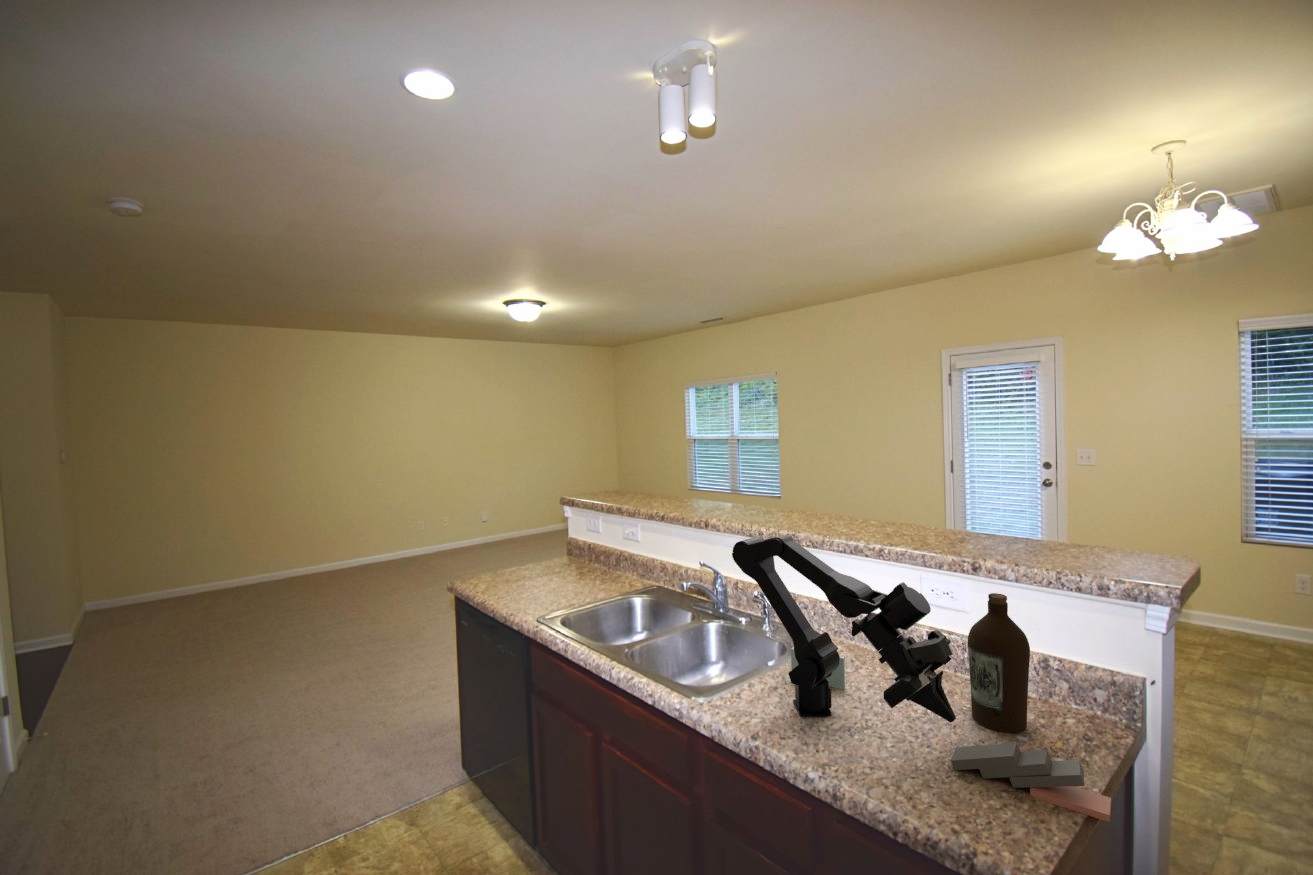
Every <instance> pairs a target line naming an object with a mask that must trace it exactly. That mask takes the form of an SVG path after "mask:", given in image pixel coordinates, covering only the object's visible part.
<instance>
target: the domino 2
mask: <svg viewBox="0 0 1313 875" xmlns="http://www.w3.org/2000/svg"><path fill="white" fill-rule="evenodd" d="M1051 761H1052V758H1051V756H1050V754H1049V752H1048V749H1046V748H1045V749H1036V750H1035V749H1034V750H1026V751H1024V750H1023V751H1021V754H1020V758H1019V763H1018V766H1013V767H998V768H983V769H978V770H979V772H980V774H981V777H982V779H984V780H986V779H996V778H997V779H999V778H1009V777H1016V776H1032V775H1047V774H1050V767H1051Z"/></svg>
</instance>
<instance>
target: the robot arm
mask: <svg viewBox="0 0 1313 875" xmlns="http://www.w3.org/2000/svg"><path fill="white" fill-rule="evenodd" d="M775 556H776V557H778V558H779V559H781V560H782V561H784V563H786V564H788V565H789V566H790V567H791V568H793V569H794V570H795V571H797V572H798V573H799V574H801V575H802V576H803V577H805V578H806V579H807V580H809V581H810V582H811V583H813V584H814V585H815V586H816V587H817V588H819V589H820V590H821V591H822V592H823V593H824V595H825V596H826V599H827V600H828V602H829V604H831V606H832V607H833V608H834V609H836V610H837V612H838V613H839V614H840V615H842V616H843V617H845V618H848V619H852V618H856V619H853V620H852V621H851V625H852V626H851V627H852V628H851V633H850V635H851V636H852V637H855V636H857V635H859V634H860V633H862V634H863V635H864V636H865V638H866V639H867V641H869V643H870V644H871V646H872V647H873V648H874V649H875V650H876V652H877V653H878V654H879V655H880V657H879V658H878V659H877V660H878V661H879V662H880V664H881V665H883V664H885V663H886V664H887V665H888V667H889V668H890V669H891V670H892V671H893V673H894V674H895V675H896V677H895V678H894V679H893V680H894V681H895V682H893V683H892V684H891V685H890V686H888V687H887V688H885V690H883V701H885V702H886V704H887V706H889V708H890V709H893V708H895V707H896V706H897V705H899V704H901V703H902V702H903V701H905V700H906V701H907V702H909V701H911V702H913V703H915V704H917V705H919V706H921V707H922V708H924V709H927V710H928V711H930V712H932V713H933V714H935V715H937V716H938V717H941V718H942V719H944V720H945V721H947V722H949V723H952V722H954V721H955V720H956V719H957V717H956V714H955V712H954V710H953V707H952V706H951V704H950V702H949V700H948V697H947V695H946V693H945V691H944V688H943V685H942V682H943V675H944V671H943V670H941V671H940V672H939V673H936V672H935V671H936V670H938V669H939V668H941V667H942V666H945V665H946V664H948V663H949V662H950V661H951V660H952V658H951V657H950V656H952V655H953V652H952V650H951V648H950V646H949V645H951V639H949V638H947V636H946V635H945V634H943V633H942V632H941V630H939V629H935V630H932V631H930V632H928V633H927V638H926V639H924V640H923V639H922V640H921V641H918V642H917V640H915V638H914V637H913V636H911V635H908V637H907V638H906V636H905V635H904V634H903V633H902V631H901V630H903V631H907V630H909V629H910V628H911V627H912V626H914V625H916V624H917V623H918V622H919V621H921V620H922V619H923V618H925V617H926V616H928V615H929V614H930V613H931V610H932V609H931V606H930V604H929V602H928V600H927V599H926V597H925V596H924V595H923V594H922V593H921V592H919V591H918V590H916V589H915V588H913V587H910V586H908V585H907V584H906V583H905V582H904V581H902V582H901V583H898V584H897V585H896V586H895V587H894V588H893V590H892V591H891V592H889V593H888V594H887V593H884V592H880V591H878V590H875V589H872V587H870V585H869V584H867V583H866V582H863V581H861V580H859V579H858V578H855V577H853V576H850V575H847V574H843V573H841V572H839V571H836V570H835V569H834V568H832V567H831V566H829V565H828V564H827V563H826V562H824V561H823V560H821V559H820V558H819V557H818V556H816V555H814V554H813V553H811V552H810V551H809V550H807V549H806V548H804V547H803V546H802V545H801V544H799V543H798V542H797V541H795V540H794V538H793V537H792V536H790V535H788V534H783V535H778V536H775V537H770V538H767V539H764V538H763V537H759V536H755V537H751V538H748V539H744V540H740V541H738V542H736V543H735V544H734V545H733V547H732V553H731V557H732V559H733V562H734V563H735V564H736V565H737V566H738V568H739V569H740V570H741V572H742V573H744V574H745V575H747V576H748V577H749V578H750V579H752V580H754V581H755V582H756V583H757V585H758V586H759V588H760V590H761V592H762V593H763V594H764V596H765V598H766V599H767V601H768V603H769V605H770V606H771V608H772V609H773V611H774V612H775V615H777V617H778V619H779V621H780V622H781V624H782V626H783V627H784V629H785V630H786V632H787V633H788V636H789V637H790V639H791V641H792V643H793V644H792V645H793V646H794V653H795V658H796V660H797V662H798V664H799V665H798V666H796V667H795V668H794V669H793V670H792V669H791V670H790V671H789V672H788V678H789V679H790V683H791V684H793V685H794V695H795V696H794V699H793V700H792V702H793V705H794V706H795V709H796V711H797V712H798V714H799V716H800V717H823V716H824V717H825V716H826V717H828V716H832V714H833V712H832V710H831V709H832V688H831V686H829V684H828V681H827V679H826V678H828V677H830V676H831V675H832V672H833V671H834V670H836V669H837V668H838V666H839V660H840V654H839V652H838V651H839V647H838V646H837V645H836V644H834V642H833V640H832V639H831V636H830V634H829V633H828V632H827V631H823V632H822V633H820V632H819V631H817V630H815V629H814V628H813V627H812V625H811V624H810V622H809V620H808V619H807V618H806V616H805V615H804V613H803V611H802V610H801V608H800V606H799V605H798V604H797V601H796V600H795V599H794V597H793V596H792V594H791V593H790V591H789V589H788V587H787V586H786V584H785V583H784V581H783V580H782V578H781V577H780V575H779V573H778V571H776V568H775V558H774V557H775ZM878 609H879V610H880V611H879V612H878V613H876V612H874V611H876V610H878ZM861 615H865V616H864V617H863V618H861V619H859V618H857V617H859V616H861Z"/></svg>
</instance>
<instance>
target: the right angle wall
mask: <svg viewBox="0 0 1313 875" xmlns="http://www.w3.org/2000/svg"><path fill="white" fill-rule="evenodd" d="M790 651H791V653H790V655H791V656H790V657H791V658H790V659H791V664H790V666H791V667H790V668H791V670H793V669H794V668H795V667H796V666H798V665H799V664H798V662H797V660H796V658H795V653H794V645H793V646H792V647H791V648H790ZM839 656H840V655H839ZM845 662H846V661H845V656H840V660H839V666H838V668H837V669H836V670H834V671H833V672H832V675H831V676H830V677H828V678H826V679H827V681H828V684H829V687H830V688H831V687H832V688H837V689H841V690H845V689H846V673H845V672H846V668H845V664H846V663H845Z"/></svg>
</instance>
